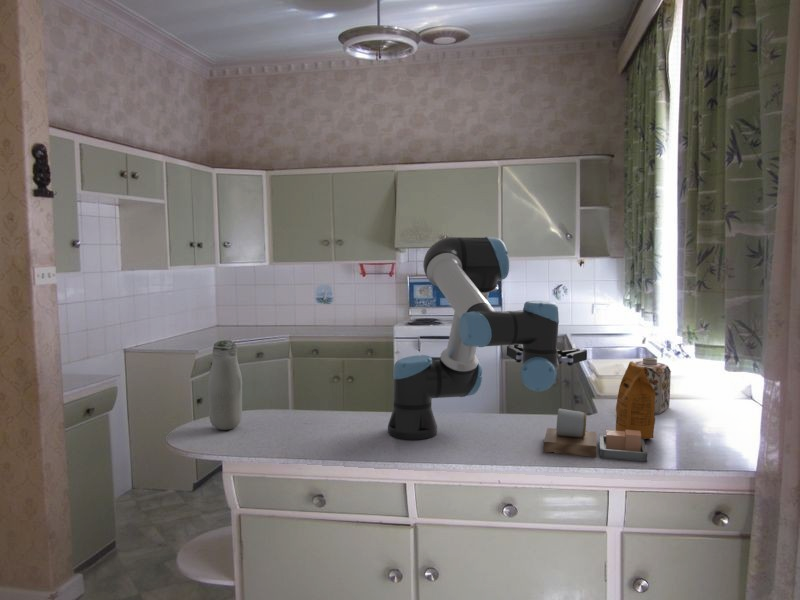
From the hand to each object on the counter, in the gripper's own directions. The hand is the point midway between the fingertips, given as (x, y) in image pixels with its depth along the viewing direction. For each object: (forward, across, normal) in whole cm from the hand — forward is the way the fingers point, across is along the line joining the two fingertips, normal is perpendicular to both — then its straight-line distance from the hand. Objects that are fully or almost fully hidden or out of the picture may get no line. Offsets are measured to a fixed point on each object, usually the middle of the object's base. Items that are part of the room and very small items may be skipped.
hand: (548, 347), depth 173 cm
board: (+9, +7, -30) cm, 32 cm away
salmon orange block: (+10, +21, -27) cm, 36 cm away
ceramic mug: (+11, +6, -27) cm, 30 cm away
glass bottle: (-3, -98, -31) cm, 102 cm away
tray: (+9, +21, -30) cm, 37 cm away
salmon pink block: (+11, +19, -29) cm, 37 cm away
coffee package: (+26, +25, -30) cm, 47 cm away
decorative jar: (+62, +32, -31) cm, 76 cm away
